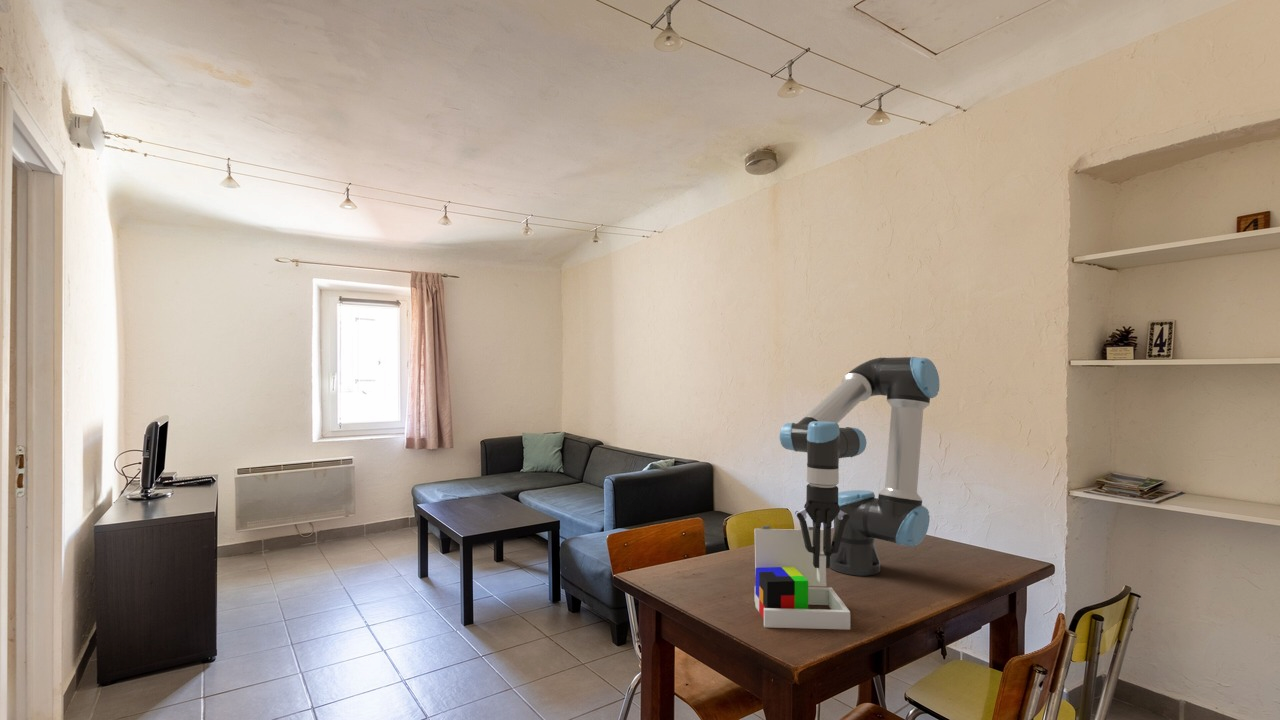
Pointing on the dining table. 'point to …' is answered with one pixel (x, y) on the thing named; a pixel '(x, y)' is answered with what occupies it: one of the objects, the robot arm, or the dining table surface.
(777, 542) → the cover
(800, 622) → the white hinged box
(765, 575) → the puzzle toy
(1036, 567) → the dining table surface
